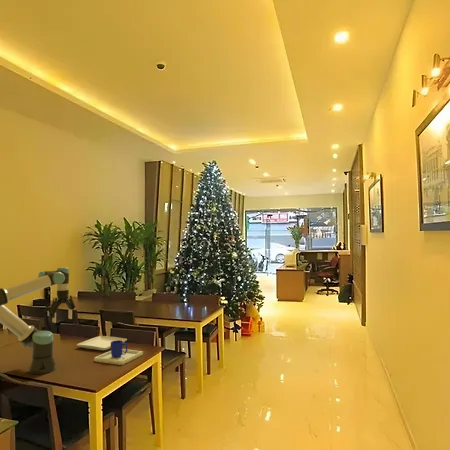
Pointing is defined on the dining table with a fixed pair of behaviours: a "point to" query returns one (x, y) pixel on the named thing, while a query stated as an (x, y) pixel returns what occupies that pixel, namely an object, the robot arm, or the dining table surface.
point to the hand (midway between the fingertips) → (62, 320)
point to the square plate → (99, 342)
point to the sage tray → (120, 360)
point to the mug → (117, 348)
